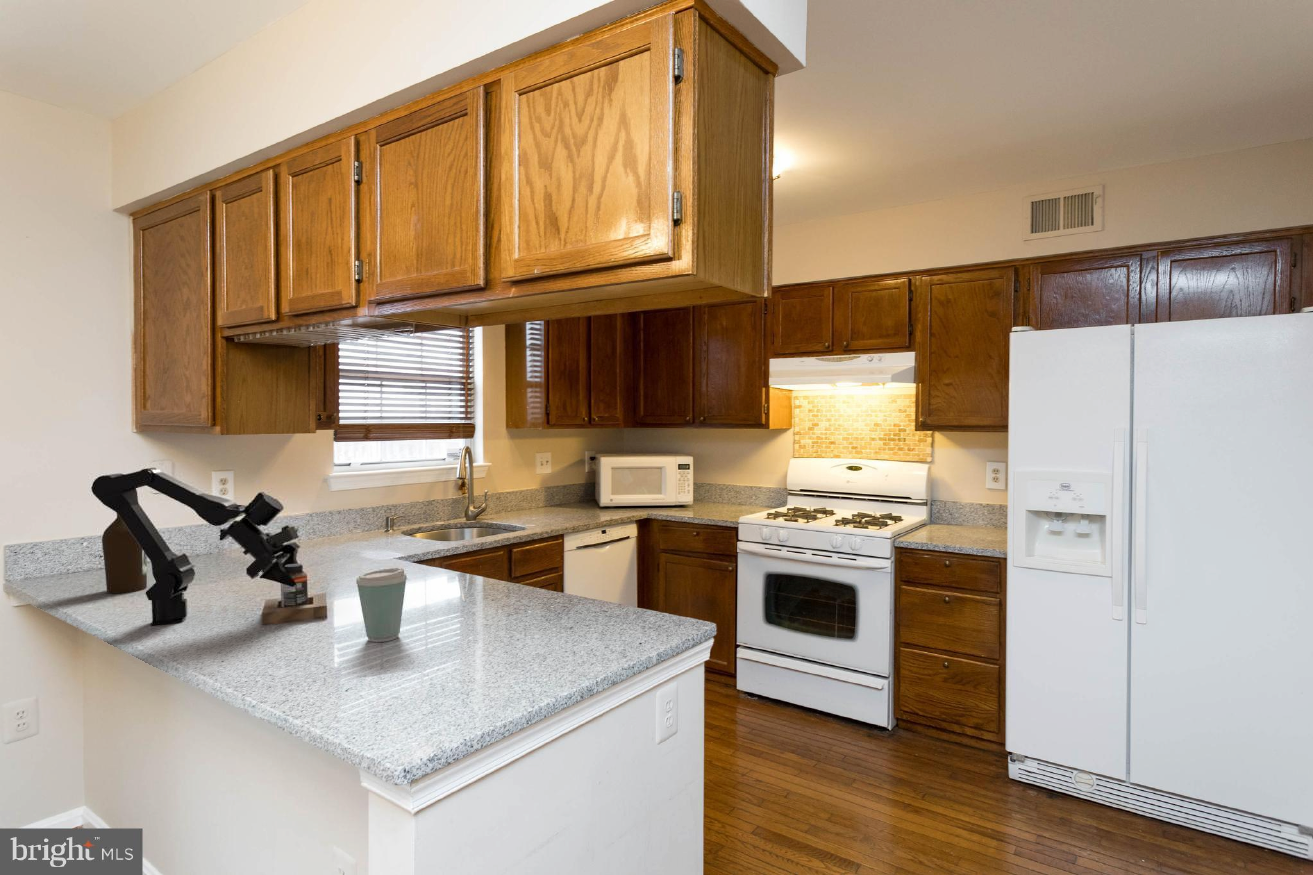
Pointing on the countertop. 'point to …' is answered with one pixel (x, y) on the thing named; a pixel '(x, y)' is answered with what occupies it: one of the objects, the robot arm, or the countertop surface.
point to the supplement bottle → (295, 587)
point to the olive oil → (123, 560)
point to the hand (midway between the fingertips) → (299, 582)
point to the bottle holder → (294, 610)
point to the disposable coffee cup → (382, 602)
